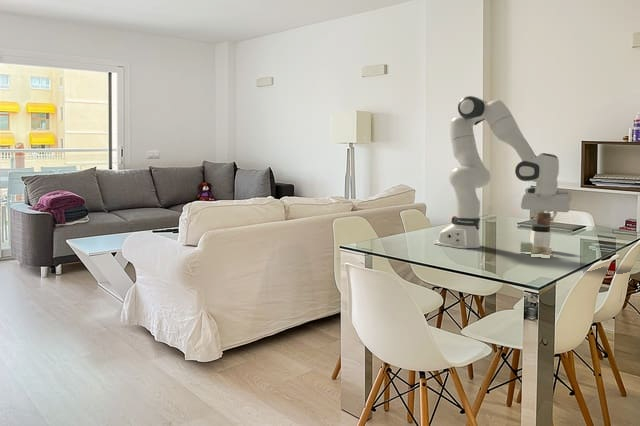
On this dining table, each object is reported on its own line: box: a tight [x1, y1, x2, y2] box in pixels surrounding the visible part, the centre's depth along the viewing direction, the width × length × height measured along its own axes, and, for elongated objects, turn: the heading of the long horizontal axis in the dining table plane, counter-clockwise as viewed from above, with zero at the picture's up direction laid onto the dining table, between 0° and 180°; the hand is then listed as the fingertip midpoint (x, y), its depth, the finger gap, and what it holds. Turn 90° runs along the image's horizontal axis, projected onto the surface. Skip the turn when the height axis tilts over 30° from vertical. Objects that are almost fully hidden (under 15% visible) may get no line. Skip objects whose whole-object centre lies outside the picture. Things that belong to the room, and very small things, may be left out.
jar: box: [529, 223, 552, 248], centre depth 264 cm, size 9×8×12 cm
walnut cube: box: [536, 211, 552, 226], centre depth 247 cm, size 5×5×5 cm
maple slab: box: [531, 246, 553, 255], centre depth 250 cm, size 8×8×4 cm
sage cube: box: [518, 241, 533, 252], centre depth 256 cm, size 5×5×5 cm
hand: (543, 220), depth 248 cm, fingers closed on walnut cube, 5 cm apart
